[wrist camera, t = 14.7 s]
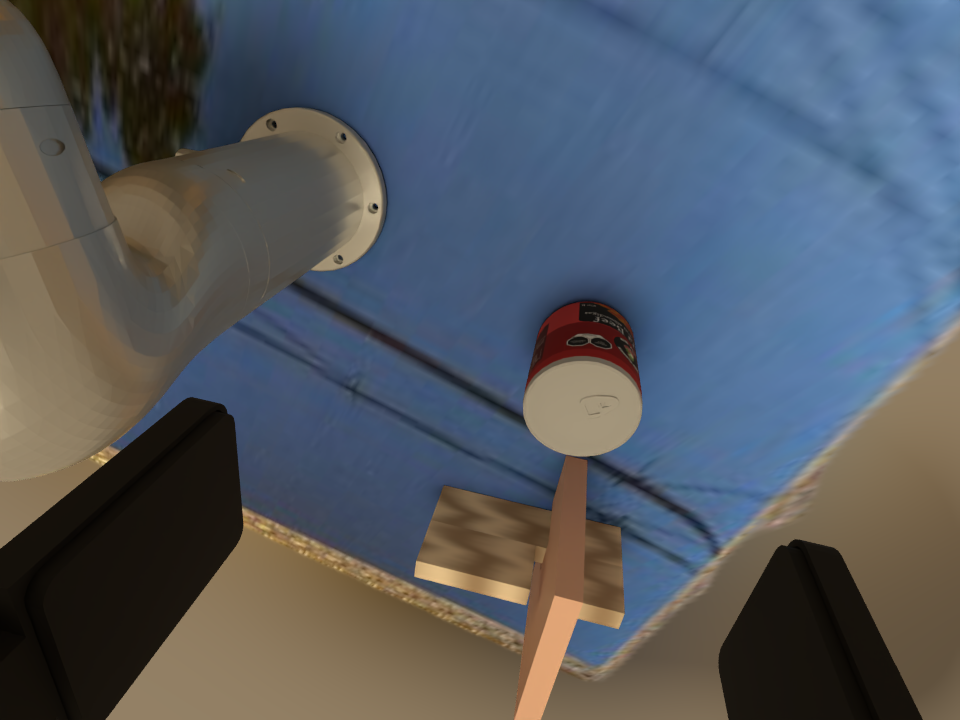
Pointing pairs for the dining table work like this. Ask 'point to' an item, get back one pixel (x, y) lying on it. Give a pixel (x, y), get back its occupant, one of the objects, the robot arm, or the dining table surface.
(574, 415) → the canned food
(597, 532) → the oak board
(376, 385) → the dining table surface
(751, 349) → the dining table surface
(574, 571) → the terracotta plate
